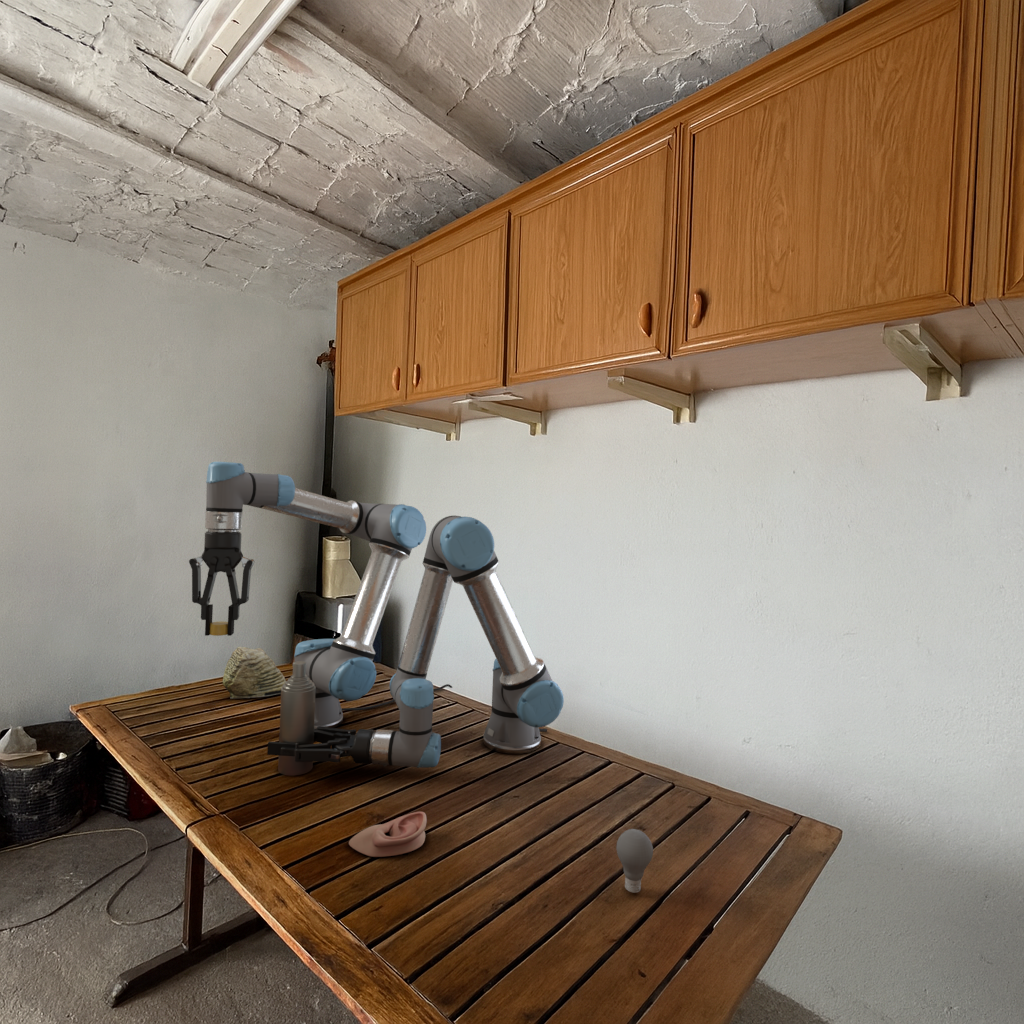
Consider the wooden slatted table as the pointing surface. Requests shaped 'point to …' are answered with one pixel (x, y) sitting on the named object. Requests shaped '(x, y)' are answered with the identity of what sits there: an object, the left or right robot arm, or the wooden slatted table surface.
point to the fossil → (252, 674)
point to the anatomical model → (392, 836)
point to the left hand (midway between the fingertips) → (219, 634)
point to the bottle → (297, 717)
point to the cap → (219, 628)
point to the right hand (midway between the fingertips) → (275, 741)
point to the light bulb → (634, 857)
